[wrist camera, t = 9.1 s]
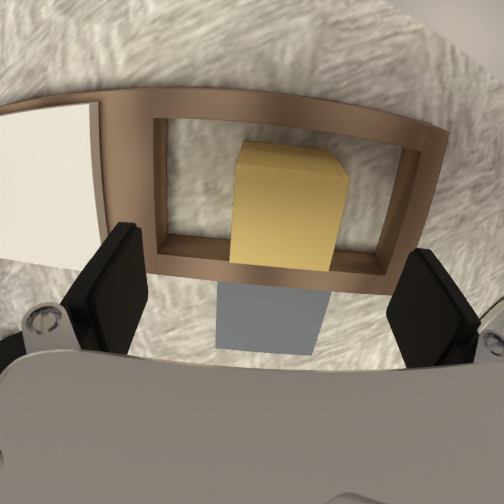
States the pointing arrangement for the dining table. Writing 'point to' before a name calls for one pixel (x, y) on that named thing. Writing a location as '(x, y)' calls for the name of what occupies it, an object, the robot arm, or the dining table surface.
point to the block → (286, 206)
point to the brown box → (265, 112)
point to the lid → (51, 186)
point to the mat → (269, 318)
